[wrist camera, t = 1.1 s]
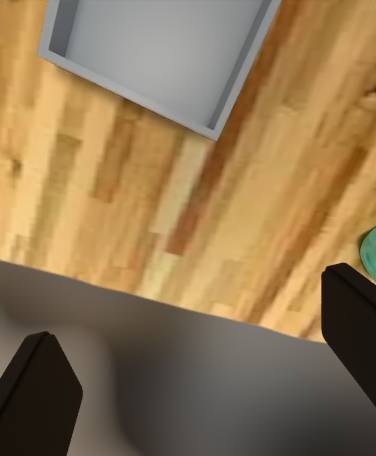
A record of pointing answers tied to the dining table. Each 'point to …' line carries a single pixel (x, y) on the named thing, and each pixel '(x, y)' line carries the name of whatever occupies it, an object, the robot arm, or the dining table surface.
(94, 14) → the bin
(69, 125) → the dining table surface
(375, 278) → the decorative dice
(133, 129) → the dining table surface
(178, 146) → the dining table surface
